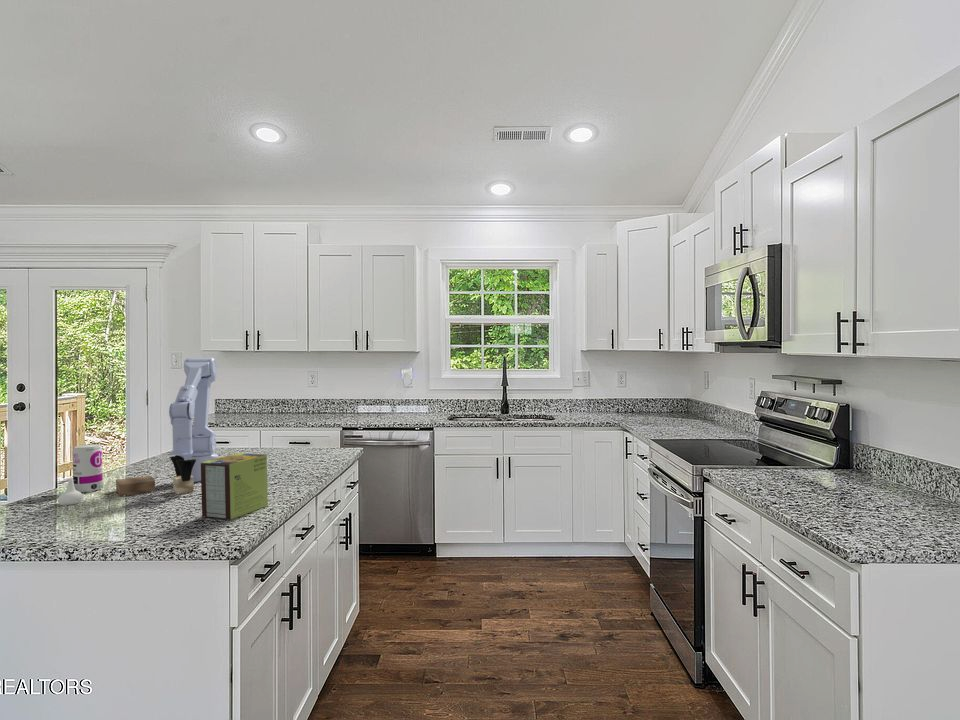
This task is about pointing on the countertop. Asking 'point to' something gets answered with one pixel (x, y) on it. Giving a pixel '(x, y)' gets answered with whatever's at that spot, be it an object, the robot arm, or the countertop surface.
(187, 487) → the maple cube
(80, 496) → the garlic bulb
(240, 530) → the countertop surface
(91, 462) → the supplement can
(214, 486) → the protein box
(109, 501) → the countertop surface
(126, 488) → the walnut block
